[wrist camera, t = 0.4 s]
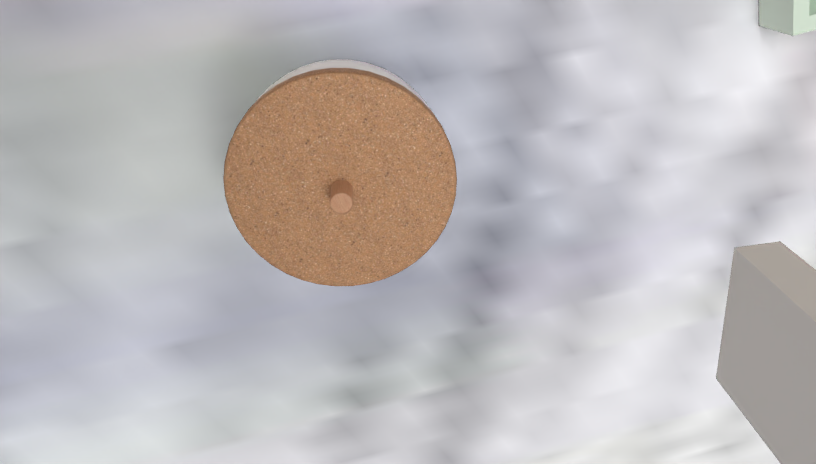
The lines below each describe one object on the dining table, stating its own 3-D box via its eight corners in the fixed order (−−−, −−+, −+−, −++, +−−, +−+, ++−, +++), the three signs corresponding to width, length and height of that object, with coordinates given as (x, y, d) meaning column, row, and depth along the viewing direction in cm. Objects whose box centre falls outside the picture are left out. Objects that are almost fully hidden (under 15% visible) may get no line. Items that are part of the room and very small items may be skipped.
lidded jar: (397, 6, 34) (412, 40, 26) (462, 182, 39) (493, 259, 30) (211, 83, 35) (168, 139, 27) (297, 245, 40) (283, 336, 31)
